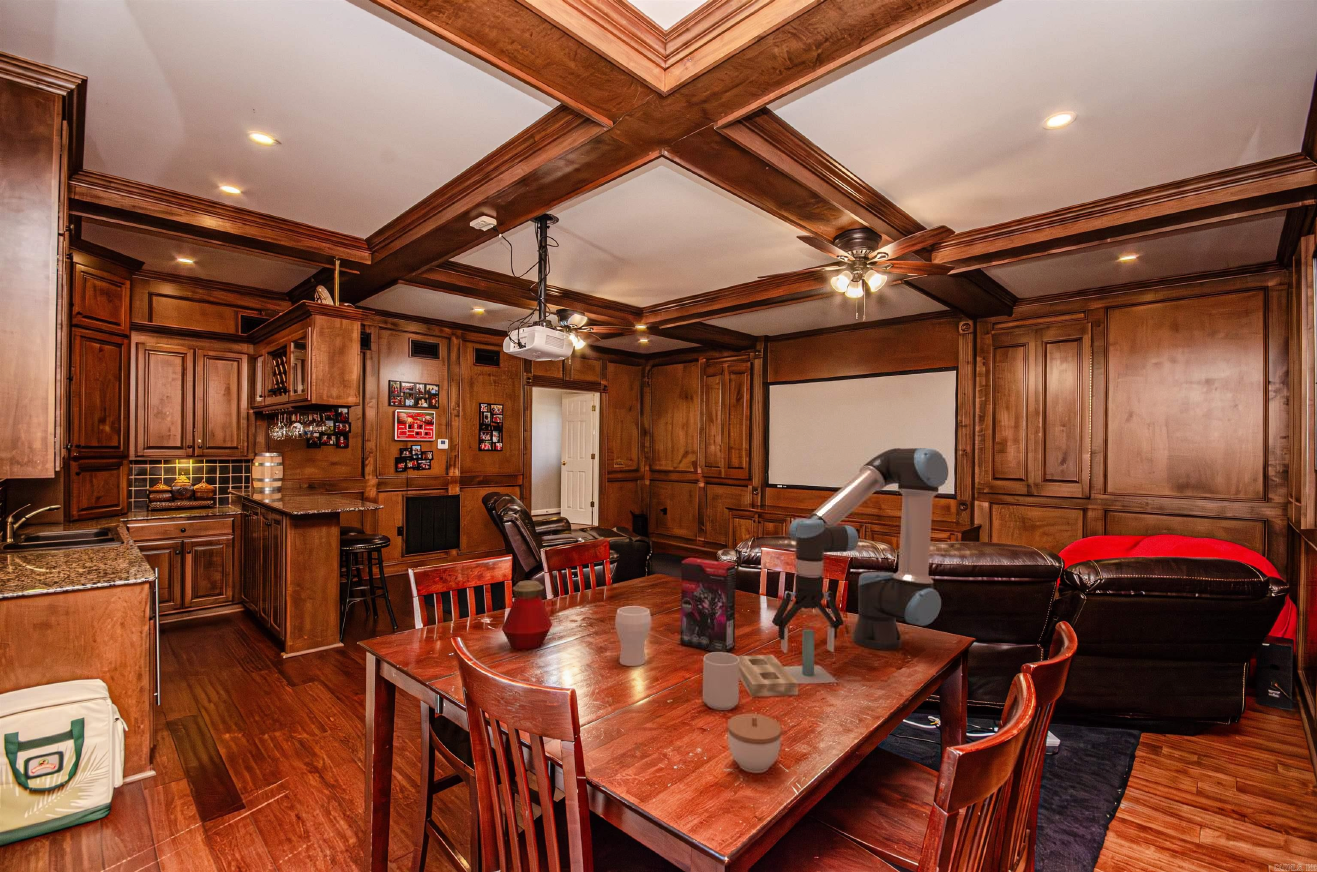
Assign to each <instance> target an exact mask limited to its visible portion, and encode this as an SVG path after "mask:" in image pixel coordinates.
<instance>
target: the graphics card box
mask: <svg viewBox="0 0 1317 872" xmlns="http://www.w3.org/2000/svg"><path fill="white" fill-rule="evenodd" d="M736 566H737V564H736V563H731V562H725V561H723V562H722V561H716V560H711V559H702V558H695V557H688V558H685V559H683V560H682V561H681V581H680V582H681V583H680V584H681V586H680V589H681V591H680V592H681V593H680V594H681V595H680V642H679V643H680V645H684V646H686V647H691V648H696V649H702V650H707V651H710V652H712V653H714V652H724V653H731V652H732V651H734V650H735V649H736V648H735V647H736V645H735V644H736V638H735V637H736V568H737V567H736Z"/></svg>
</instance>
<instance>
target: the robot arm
mask: <svg viewBox="0 0 1317 872" xmlns="http://www.w3.org/2000/svg"><path fill="white" fill-rule="evenodd" d="M860 467H861V468H859V471H858V472H859V473H858V474H856V475H855V476H854V477H853V478H852V479H851V480H850V481H848V482H847V483H846V484H845V485H843V487H841V488H840V489H839V490H838V491H836V492H835V493H834V494H833V495H831V496H830V497H829V498H828V499H827V500H826V501H824V503H823V504H821V505H820V506H819V507H818V508H817V509H815V510H814V511H813V512H812V513H810V514H809V515H808V516H807V517H806V518H796V519H793V521H792V522H791V523H790V525H789V527H788V534H789V537H790V538H791V541H793V542H795V573H796V574H795V577H794V578H795V579H794V581H795V582H794V583H795V585H794V586H795V589H794V592H791V591H788V590H784V592H783V597H782V600H781V602H780V605H779V607H778V608H777V611H776V612H775V614H774V616H773V618H772V621H771V622H772V624H773V625H775V626H776V627H778V635H777V636H778V639H780V640H781V642H780V643H781V645H780V646H781V648H780V649H781V651H782V652H784V654H785V653H786V654H787V653H788V640H789V639H788V636H789V635H788V633H789V630H788V627H786V626H788V624H789V623H790V622H791V621H792V620H793V618H794V617H795V616H796V614H797V613H798V612H799V611H801V610H802V609H805V610H807V609H812V610H814V609H816V608H817V609H818V610H819V611H820V613H821V615H822V616H823V617H824V618H825V620H826V621H828V623H829V624H830V625H827V638H826V639H827V642H826V643H827V644H826V645H827V646H826V648H827V650H828V651H830V652H831V653H834V652H835V640H837V639H838V629H839V628H840V627H841V626H844V624H845V622H844V620H843V616H841V613H840V611H839V608H838V606H837V605H836V604H837V603H836V602H835V597H834V596H835V595H834V592H831V591H830V590H826V591H825V592H823V588H824V585H823V584H824V577H823V575H824V556H825V555H824V554H827V553H841V552H842V553H846V552H852V551H854V550H855V549H856V548H857V547H858V545H859V533H858V532H857V529H856V528H855V527H853V526H851V525H844V524H841V525H838V524H839V523H840V522H841V521H842V520H844V519H845V518H846V517H847V516H848V515H849V514H851V513H852V512H853V511H854V510H855V509H856V508H857V507H858V506H860V505H861V504H863V502H865V501H866V500H867V499H869V497H870V496H871V495H872V494H873V493H875V492H876V491H882V490H883V489H884V488H885V487H887V486H889V485H893V484H898V485H897V490H898V491H899V493H900V494H901V495H902V500H901V501H902V503H901V506H902V507H901V519H900V520H901V521H900V536H899V537H900V538H899V555H898V569H897V570H898V571H897V572H895V573H894V572H890V571H889V572H888V571H872V572H871V571H869V572H863V573H861V574H860V575H859V578H858V585H857V588H858V589H857V590H858V591H857V593H858V595H857V596H858V597H857V598H858V611H857V613H858V616H857V621H856V622H855V623H856V624H855V625H854V629H853V632H852V642H854V643H855V644H857V645H859V646H861V647H863V648H867V649H872V650H878V651H879V650H881V651H894V650H898V649H900V648H902V637H901V633H900V631H899V628H898V627H899V626H898V624H897V620H901V621H903V622H906V623H909V624H910V625H917V626H922V627H923V626H927V625H929V624H931V623H932V622H934V621H935V619H936V618H937V617H938V615H939V613H940V611H941V608H942V599H941V596H940V593H939V592H938V590H936V589H934V580H933V579H932V578H931V577H930V575H929V570H930V569H929V568H930V551H931V535H932V534H931V533H932V531H931V530H932V519H933V518H932V515H933V513H932V512H933V501H934V500H933V499H934V497H935V496H936V495H938V493H939V489H940V487H942V486H943V485H945V483H946V481H947V480H948V477H949V465H948V463H947V460H946V458H945V457H944V456H943V454H942V453H941V452H940V451H938V450H936V449H932V448H925V447H924V448H923V447H922V448H921V447H919V448H915V447H914V448H913V447H912V448H911V447H910V448H899V447H898V448H897V447H896V448H891V449H887V450H885V451H883V452H881V453H879V454H877V455H876V456H874V457H873V458H871V459H870V460H869V461H867V462H866V463H864V464H863V465H862V466H860ZM793 599H795V601H794V602H793V603H792V606H791V607H790V608H789V605H790V603H791V601H792V600H793ZM823 599H825V600H826V602H827V604H828V606H829V608H830V611H831V613H832V615H833V617H832V615H831V614H830V613H829V611H828V610H827V608H825V606H824V604H823V603H822V601H823ZM788 608H789V609H788ZM787 609H788V611H787ZM786 611H787V612H786Z"/></svg>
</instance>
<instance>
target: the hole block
mask: <svg viewBox="0 0 1317 872" xmlns="http://www.w3.org/2000/svg"><path fill="white" fill-rule="evenodd" d="M736 656H737V657H738V658H739V681H740V682H741V683H742V686H743V687H745V689H746V691H747V692H748V693H749V695H750V697H751V698H752V699H754V698H755V697H758V698H759V697H760V698H761V697H781V696H799V684H798V682H797V681H796V680H795V679H794V678H793V677H792V675H791V674H790V673H789V672H788V671H787V670H786V669H785V668H784V667H785V666H783V664H782V663H781V662H780V661H779V660H778V659H777V658H776V657H775V656H774V655H773V654H766V655H765V654H764V655H763V654H760V655H757V654H756V655H736Z"/></svg>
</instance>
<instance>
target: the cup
mask: <svg viewBox="0 0 1317 872" xmlns="http://www.w3.org/2000/svg"><path fill="white" fill-rule="evenodd" d="M614 620H615V622H614V623H615V631H616V634H617V636H618V639H619V641H620V647H621V649H620V656H619V663H620V664H621V665H622V666H628V667H637V666H642V665H644V664H645V663H646V662H647V661H646V652H645V646H646V640H647V639H648V636H649V634H650V631H651V628H652V616H651V612H650V609H649V608H647V607H644V606H638V605H637V606H636V605H632V606H631V605H629V606H624V607H619V608H618V609H617V611H616V615H615V619H614Z"/></svg>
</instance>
